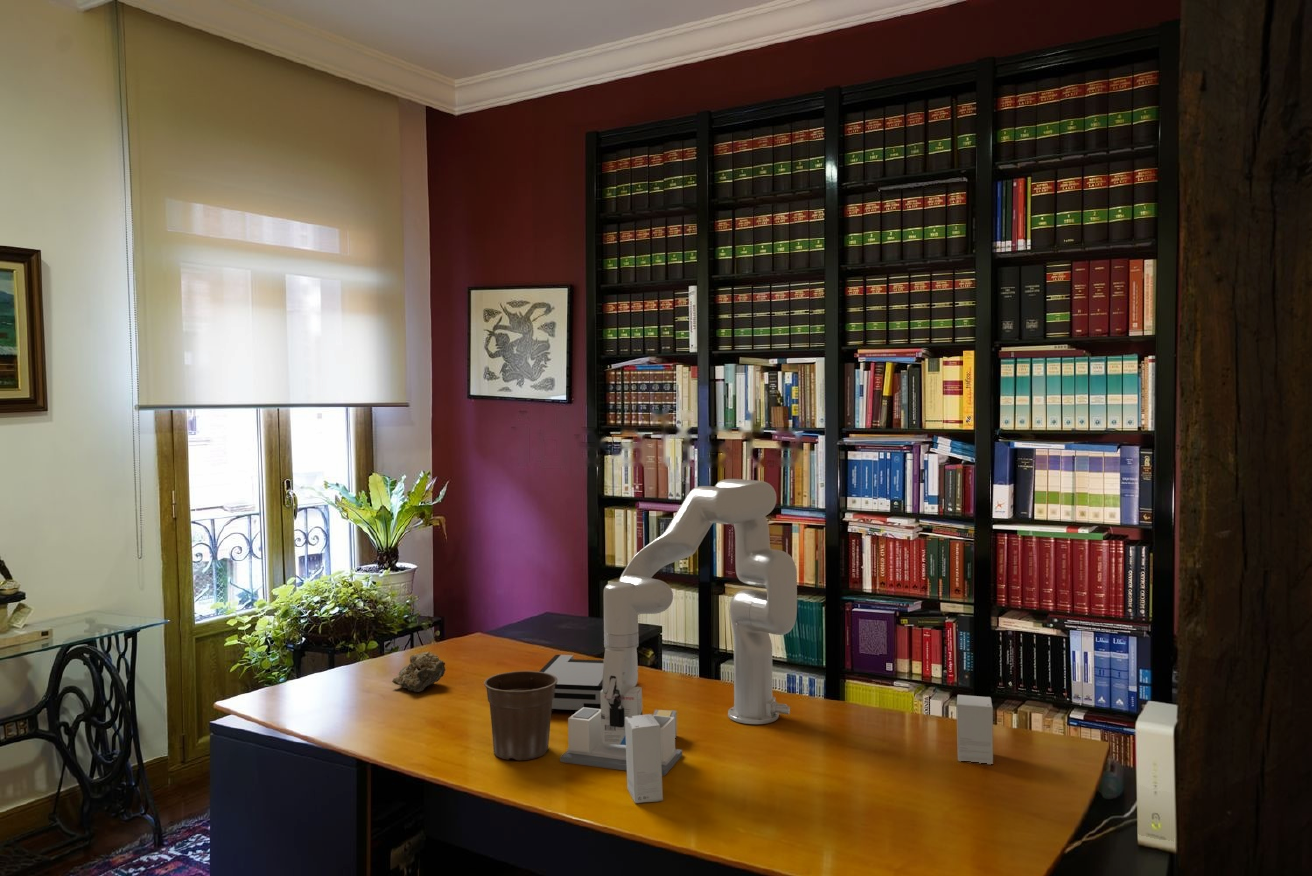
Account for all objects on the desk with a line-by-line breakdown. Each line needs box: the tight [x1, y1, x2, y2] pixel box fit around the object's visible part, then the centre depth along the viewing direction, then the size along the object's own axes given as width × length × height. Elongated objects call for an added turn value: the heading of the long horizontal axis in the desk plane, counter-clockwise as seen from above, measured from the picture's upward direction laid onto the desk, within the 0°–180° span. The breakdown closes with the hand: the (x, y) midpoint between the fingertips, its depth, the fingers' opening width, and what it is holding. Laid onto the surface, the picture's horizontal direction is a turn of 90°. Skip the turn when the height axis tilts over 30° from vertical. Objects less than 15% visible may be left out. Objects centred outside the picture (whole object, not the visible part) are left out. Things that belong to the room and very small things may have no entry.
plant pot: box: [483, 670, 558, 761], centre depth 201 cm, size 16×16×16 cm
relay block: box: [652, 709, 678, 738], centre depth 208 cm, size 5×6×6 cm
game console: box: [538, 654, 604, 713], centre depth 241 cm, size 21×32×8 cm, turn 172°
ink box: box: [600, 686, 643, 745], centre depth 196 cm, size 9×5×12 cm, turn 78°
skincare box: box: [625, 713, 664, 804], centre depth 177 cm, size 8×6×15 cm
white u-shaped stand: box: [559, 707, 683, 777], centre depth 196 cm, size 24×12×9 cm, turn 71°
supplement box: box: [956, 694, 994, 765], centre depth 195 cm, size 7×7×13 cm
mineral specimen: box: [391, 651, 446, 693], centre depth 250 cm, size 14×13×10 cm
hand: (622, 721), depth 196 cm, fingers closed on ink box, 5 cm apart
